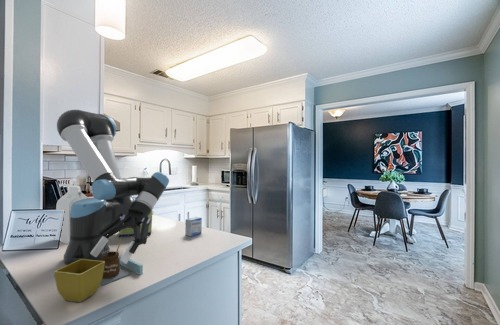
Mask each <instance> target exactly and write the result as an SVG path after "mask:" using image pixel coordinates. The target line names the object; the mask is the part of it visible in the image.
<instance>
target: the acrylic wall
mask: <svg viewBox="0 0 500 325" xmlns="http://www.w3.org/2000/svg"><path fill="white" fill-rule="evenodd" d="M122 256H123V255H119V259H121V257H122ZM120 266H122V267H124V268H126V269H128V270H130V271H132V272H134V273H136V274H137V275H142V274H144V272H143V270H144V269H143V268H144V266H143V264H141V263H139V262H137V261H136V260H133V259H132V258H130V259H129V260H128V262H127V264H124V263H123V262H122V261H120Z"/></svg>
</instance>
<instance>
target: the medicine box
mask: <svg viewBox="0 0 500 325" xmlns="http://www.w3.org/2000/svg"><path fill="white" fill-rule="evenodd" d="M202 221H203V219H202V217H200V216H195V217H194V216H193V217H190V218H186V219H185V228H184V229H185V234H184V235H185V236H188V237H194V236H197V235H200V234H202V229H203V228H202V224H203V222H202Z"/></svg>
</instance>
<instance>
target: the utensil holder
mask: <svg viewBox="0 0 500 325" xmlns="http://www.w3.org/2000/svg"><path fill="white" fill-rule="evenodd" d="M121 242H122V238H120V239H119V242H118V244H117V245H118V246H117V248H116V251H110V247H109V248H108V249H109V251H108V252H107V253H105V252H103V253H104V254H103V253H102V251H101V253H102V254H103V255H102V256H101V260H100V261H105V265H104V272H103V278H111V277H114V276H116V275H118V274H119V272H120V268H121V265H120V259H119V256H120V254H119V248H120V246H121ZM107 243H108V242H107ZM107 243H106V244H107ZM104 245H105V243H104ZM100 246H101V245H100ZM108 246H109V245H108ZM108 246H107V247H108ZM107 247H106V248H107ZM103 249H104V248H103ZM103 249H102V250H103ZM100 250H101V249H100ZM105 250H106V249H105Z"/></svg>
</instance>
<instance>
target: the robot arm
mask: <svg viewBox="0 0 500 325" xmlns="http://www.w3.org/2000/svg"><path fill="white" fill-rule="evenodd" d="M56 129H57V133H58V135H59V136H60V138H61V139H62V141H64V142H67V143H68V145H69V146H70V149H71V150H72V151H73V153H74V154H75V155H76V157H77V159H78V160H79V162H80V164H81V165H82V166H83V169H84V170H85V171H86V172H87V174H88V175H89V178H90V179H91V180H92V182H93V183H92V184H91V187H90V188H91V192H92V193H91V194H92V196H93V197H88V198H86V199H82V200H79V201H76V202H74V203H73V204H72V205H71V210H70V242H69V244H67V247H66V250H65V252H64V255H63V263H64V264H65V265H66V266H67V265H69V264H71V263H73V262H75V261H78V260H80V259H87V260H97V261H101V256H102V255H103V254H104V253H103V252H105V253H107V252H108V251H109V252H110V247H109V244H108V242H109V240H110V239H109V238H111V237H113V236H115V234H117V233H119V231H120V230H122V229H125V228H132V229H133V231H134V236H133V239H132V241H130V243H129V244H128V246H127V248H126V249H125V251H124V253H123V254H122V255H121V256H122V257H121V259H120V261H122V262H123V263H124V264H127V262H128V260H129V259H131V257H132V256H133V254H135V253H136V251H137V250H138V248H139V246H141V245H146V244H147V239H148V236H149V235H148V229H149V224H150V222H151V220H150V219H149V218H148V215H149V214H150V212H151V210H152V211H153V209H154V207H155V206H156V204H157V203H158V201H159V200H160V198H161V197H162V195H163V193H164V191H165V190H166V189H167V187H168V185H169V183H170V179H169V177H168V176H167V175H166V174H165V173H163V172H159V171H156V172H154V173H153V174H152V175H151V176H150V177H138V176H133V177H131V176H130V177H126V178H125V177H123V178H122V177H121V173H120V170H119V166H118V162H117V159H116V155H115V152H114V147H113V144H112V142H113V140H114V139H115V136H116V133H117V132H116V131H117V124H116V122H115V121H114V119H113V118H112V117H111V116H109V115H105V114H102V113H95V112H89V111H85V110H80V109H70V110H69V109H68V110H67V111H64V112H63V113H62V114H61V115H60V116H58V119H57V121H56ZM134 196H136V197H134ZM123 223H124V224H123ZM141 223H142V228H141V227H140V224H141ZM140 229H141V234H140ZM104 243H105V245H104ZM106 243H107V244H106ZM100 245H101V246H100ZM107 246H108V247H107ZM106 247H107V248H106ZM103 248H104V249H103ZM108 248H109V249H108ZM100 249H101V250H100ZM102 249H103V250H102ZM105 249H106V250H105ZM101 251H102V253H103V254H102V253H101Z"/></svg>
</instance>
